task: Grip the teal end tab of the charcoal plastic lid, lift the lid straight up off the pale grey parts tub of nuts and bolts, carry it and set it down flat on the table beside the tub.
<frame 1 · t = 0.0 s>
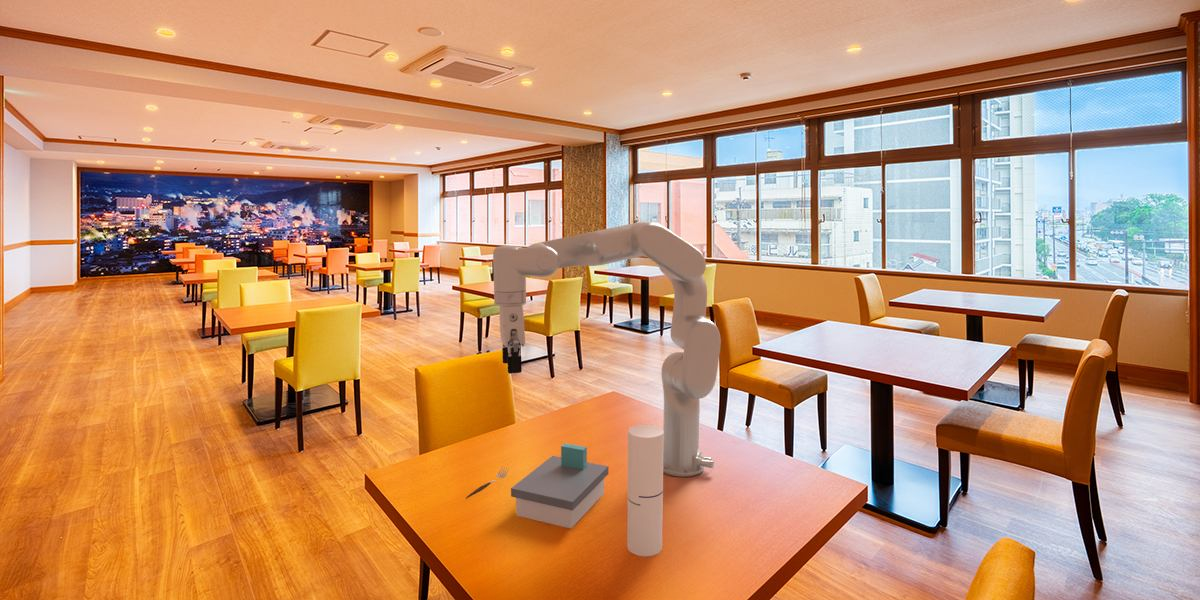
hand: (511, 367, 141), 31 cm above the table, tool pointing down, fingers open, 9 cm apart
tub: (562, 503, 138), on the table
fork: (487, 487, 148), on the table
cylindrical container: (644, 547, 120), on the table
lid: (561, 484, 137), point 5 cm above the table, touching tub
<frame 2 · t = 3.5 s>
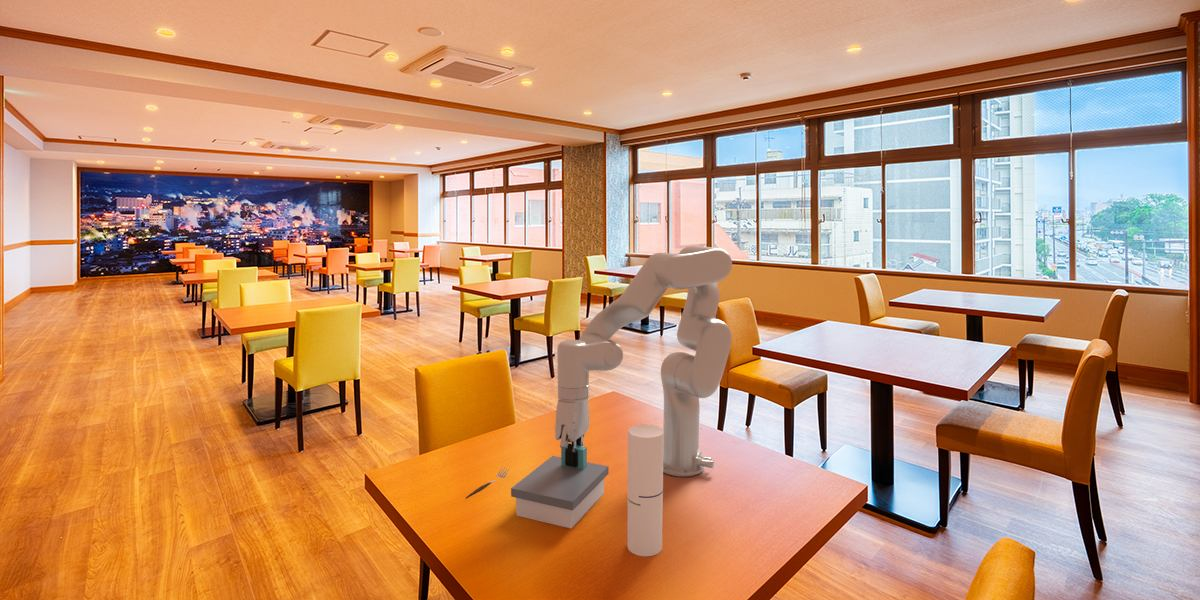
hand: (574, 463, 143), 7 cm above the table, tool pointing down, fingers closed on lid
lid: (561, 484, 137), point 5 cm above the table, touching gripper, tub
everything else where it was.
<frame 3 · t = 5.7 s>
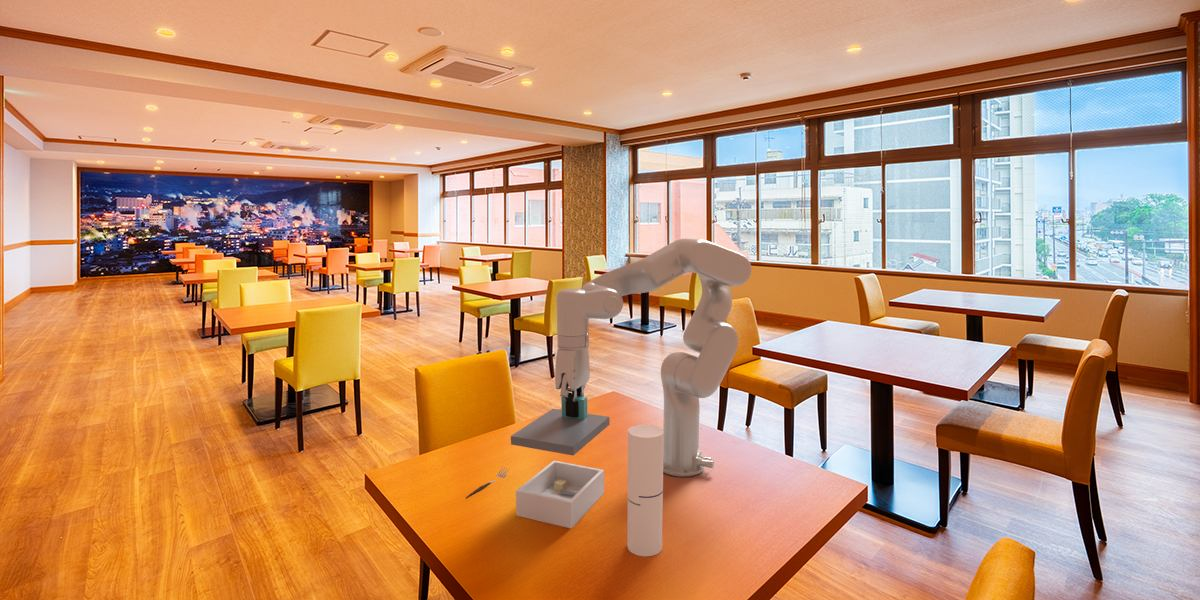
hand: (574, 414, 141), 20 cm above the table, tool pointing down, fingers closed on lid
lid: (562, 434, 136), point 17 cm above the table, touching gripper
everything else where it was.
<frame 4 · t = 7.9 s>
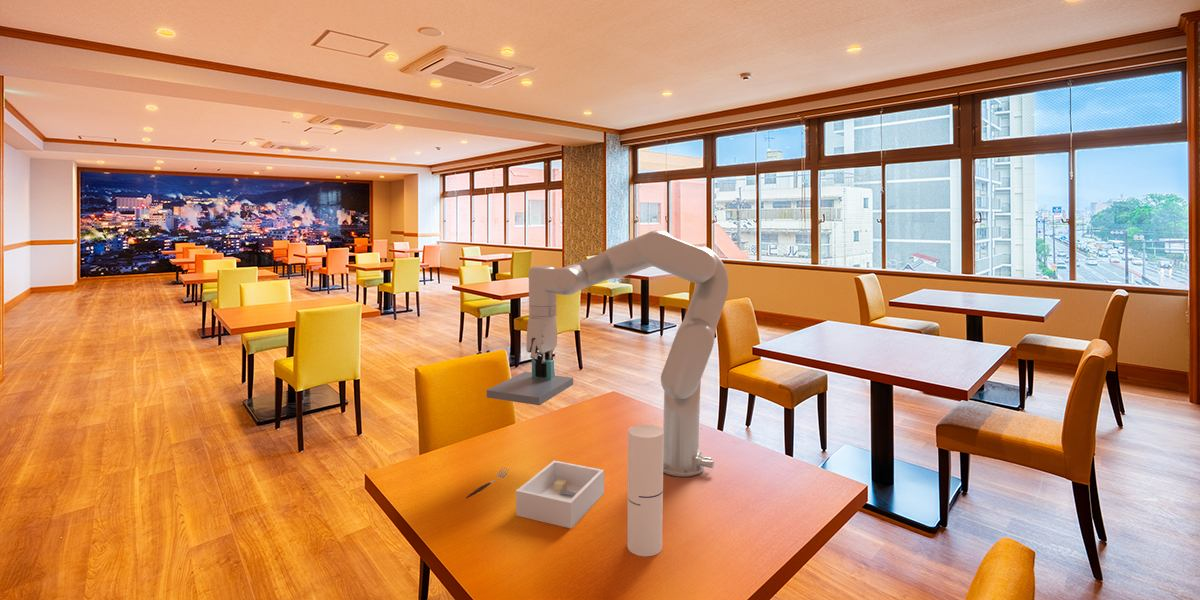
hand: (543, 375, 163), 23 cm above the table, tool pointing down, fingers closed on lid
lid: (531, 390, 157), point 21 cm above the table, touching gripper
everything else where it was.
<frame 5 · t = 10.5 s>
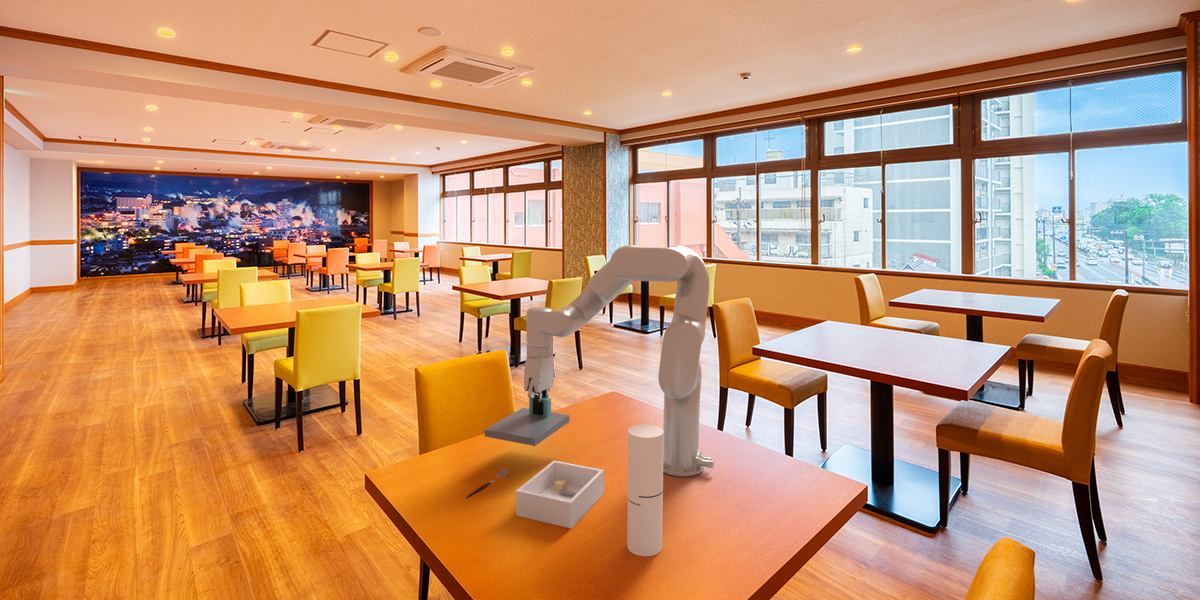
hand: (540, 412, 168), 11 cm above the table, tool pointing down, fingers closed on lid
lid: (528, 428, 162), point 9 cm above the table, touching gripper
everything else where it was.
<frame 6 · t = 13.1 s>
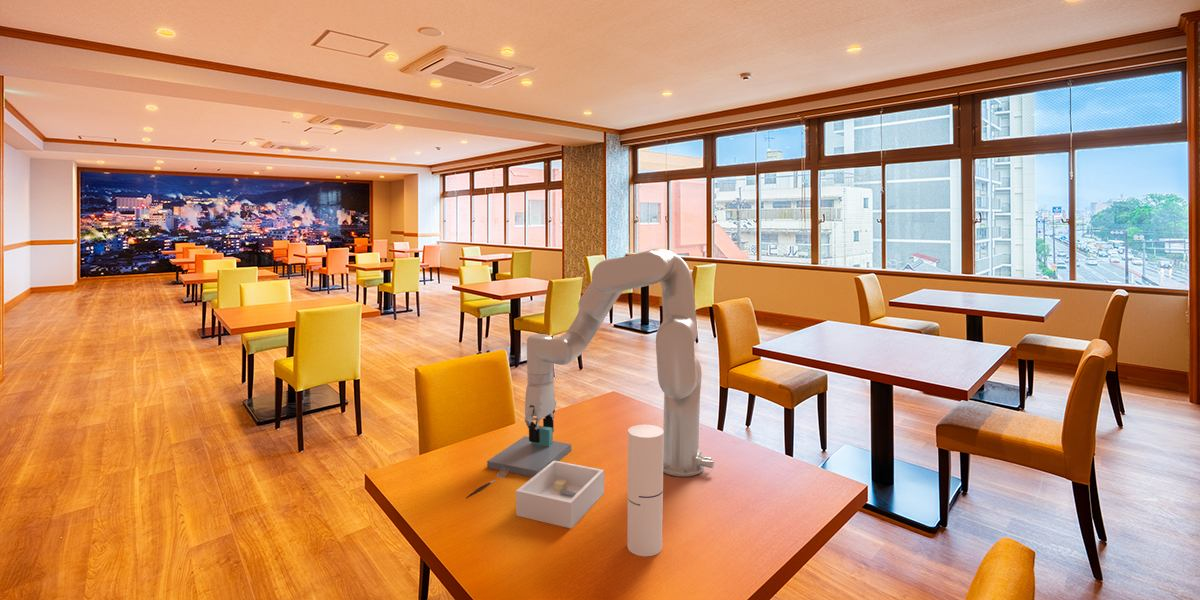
hand: (541, 436, 169), 4 cm above the table, tool pointing down, fingers open, 7 cm apart
lid: (530, 459, 164), on the table
everything else where it was.
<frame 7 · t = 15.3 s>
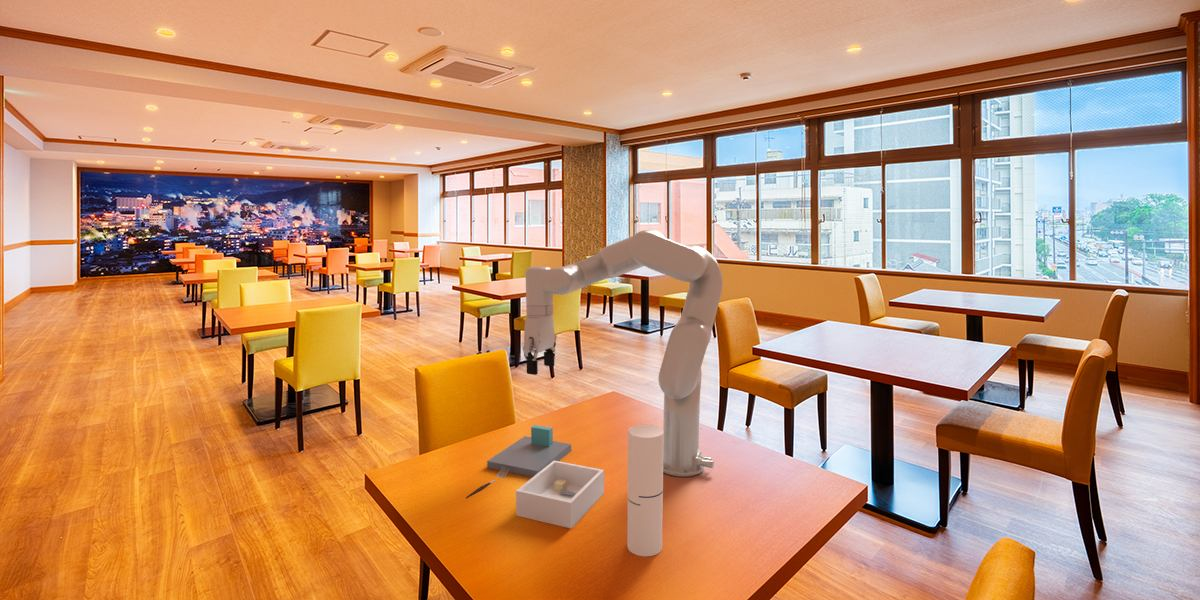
hand: (541, 369, 166), 24 cm above the table, tool pointing down, fingers open, 9 cm apart
nothing on the table moved.
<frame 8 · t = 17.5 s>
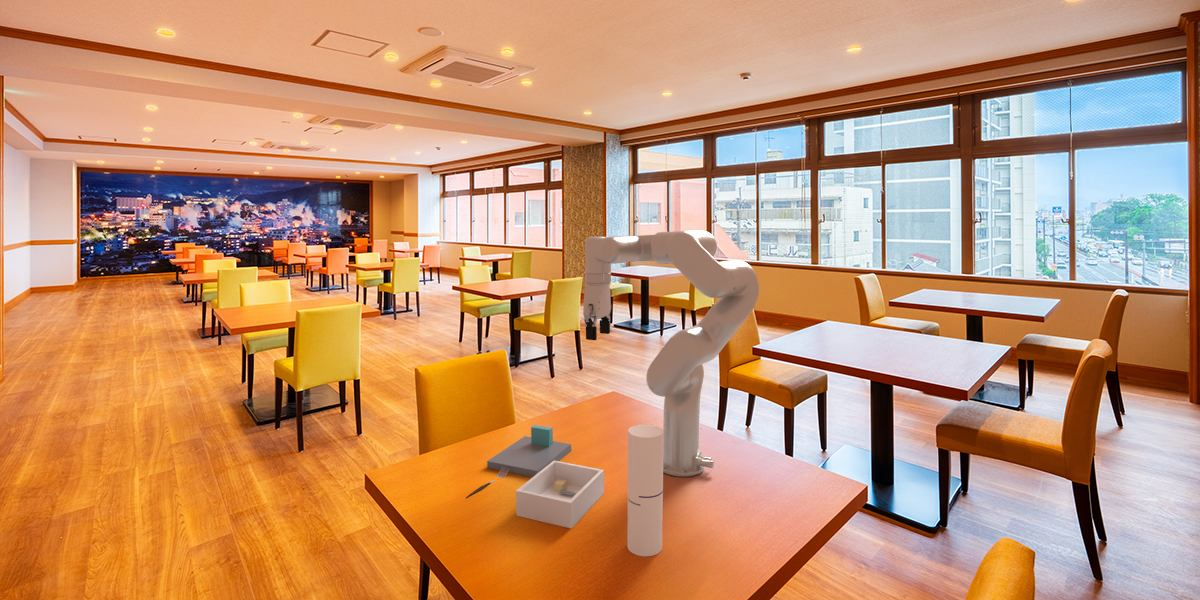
hand: (598, 336, 172), 32 cm above the table, tool pointing down, fingers open, 9 cm apart
nothing on the table moved.
at the end: lid inside the target area (0.2 cm from its centre), on the table; lid tilted 0°; the gripper is holding nothing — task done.
